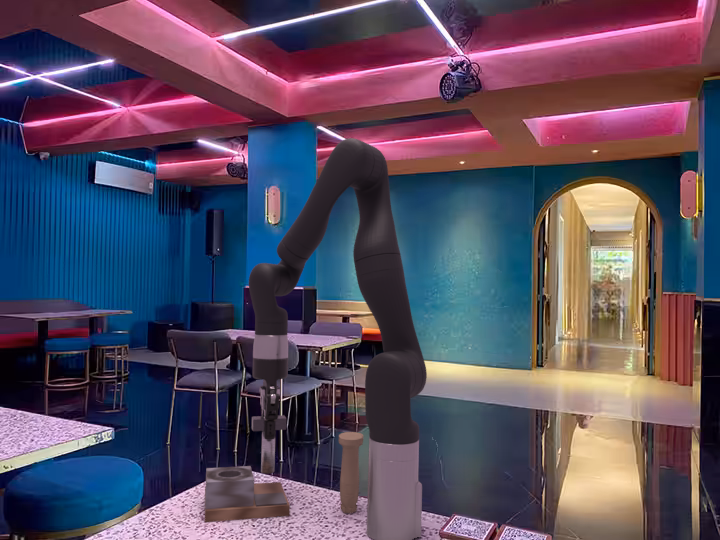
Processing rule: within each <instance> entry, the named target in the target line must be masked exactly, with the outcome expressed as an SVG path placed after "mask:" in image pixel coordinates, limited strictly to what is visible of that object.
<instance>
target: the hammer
mask: <svg viewBox="0 0 720 540" xmlns="http://www.w3.org/2000/svg"><path fill="white" fill-rule="evenodd" d="M264 428H265V421H264V416H262V415H261V416H259V415H258V416H251V430H252V431H253V432H261V461H260V462H261V464H260V473H261V474H266V475H268V474H273V473H274V472H275V460H276V459H275V458H276V457H275V456H276V455H275V454H276V453H275V452H276V437H275V438H274V439H265V438H264ZM285 430H287V417H286V416H285V414H282V415H278V419H277V420H276V421H275V431H285Z"/></svg>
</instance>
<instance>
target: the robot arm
mask: <svg viewBox="0 0 720 540" xmlns="http://www.w3.org/2000/svg"><path fill="white" fill-rule="evenodd" d="M349 187H350V188H352V189H353V190H354V193H355V198H356V202H357V207H358V213H359V222H358V227H357V233H356V236H355V240H354V243H353V251H352V252H353V255H352V256H353V265H354V268H355V269H354V270H355V275H356V281H357V284H358V285H357V286H358V288H359V292H360V293H361V296H362V298H363V300H364V302H365V304H366V306H367V307H368V309H369V311H370V312H371V314H372V316H373V317H374V319H375V321H376V324H377V326H378V329H379V333H380V338H381V341H382V342H381V344H382V350H383V352H381V353H378V354H376V355H375V356H374V357H373V358H372V359H371V360H370V361H369V363H368V365H367V368H366V373H365V382H364V395H365V396H364V403H365V420H366V421H365V422H366V424H367V426H368V430H369V433H368V435H369V438H368V471H367V472H368V473H367V506H366V508H367V509H366V534H367V536H368V537H369V538H370V539H372V540H412V539H413V540H415V539H418V538H417V537H421V538H422V508H423V507H422V505H423V504H422V503H423V500H422V499H423V484H422V483H421V482H420V481H419V459H420V458H419V456H420V455H419V453H420V452H419V450H420V449H419V448H420V426H419V424H418V422H417V421H415V420H413V418H412V413H411V411H412V410H411V409H412V408H411V399H413V398H415V397H417V396H418V395H419V394H421V392H423V390H424V388H425V386H426V383H427V366H426V363H425V359H424V356H423V352H422V349H421V346H420V341H419V339H418V335H417V332H416V328H415V324H414V321H413V316H412V311H411V304H410V299H409V294H408V289H407V284H406V283H407V282H406V277H405V271H404V266H403V261H402V256H401V255H402V254H401V251H400V247H399V243H398V237H397V231H396V225H395V220H394V216H393V212H392V211H393V210H392V205H391V204H392V203H391V193H390V192H391V191H390V181H389V169H388V164H387V160H386V157H385V155H384V154H383V152H382V151H380V150H379V148H377V147H375V146H373V145H371V144H369V143H367V142H365V141H362V140H361V139H358V138H352V137H350V138H345V139H343V140H341V141H340V142H338V143H337V145H335V147H334V148H333V149H332V151H331V153H330V155H329V156H328V158H327V160H326V162H325V164H324V166H323V168H322V170H321V172H320V174H319V176H318V178H317V180H316V182H315V184H314V185H313V188H312V190H311V192H310V194H309V197H308V198H307V201H306V202H305V204H304V205H303V208H302V209H301V211H300V212H299V214H298V216H297V218H296V219H295V221H294V222H293V223H292V225H291V226H290V227H289V229H288V230H287V232H286V233H285V234H284V236H283V237H282V239H281V240H280V242H279V243H278V245H277V247H276V253H277V255H278V257H279V259H280V261H279V263H277V264H276V263H274V264H273V263H267V262H261V263H258V264H256V265H255V266H254V267H253V268H252V270H251V271H250V273H249V277H248V290H249V294H250V299H251V305H252V308H253V311H254V316H255V321H254V322H255V324H254V338H253V339H254V340H253V347H252V348H253V349H252V377H253V379H255V380H263V381H262V385H260V386H259V394H260V400H259V401H260V407H261V408H260V412H261V416H264V421H265V428H264V438H265V439H274V438H275V439H276V430H275V421H276V420H277V419H278V416H279V407H280V397H281V387H279V385H278V380H283V379H287V377H289V376H288V373H289V372H288V371H289V370H288V369H289V340H288V339H289V338H288V337H289V336H288V330H289V329H288V325H289V324H288V321H289V317H288V312H287V310H286V309H285V308H283V307H280V306H279V305H278V302H277V297H283V296H284V297H285V296H287V295H288V294H290V293H291V292H292V291H294V290H295V288H296V286H298V283H299V281H300V278H301V275H302V273H303V272H304V271H303V270H304V268H305V265H306V263H307V262H308V261H309V259H310V258H311V256H312V255H313V254H314V252H315V251H316V250H317V248H318V247H319V246H320V244H321V243H322V241H323V239H324V237H325V234H326V232H327V229H328V225H329V220H330V216H331V213H332V210H333V208H334V206H335V204H336V203H337V201H338V199H339V198H340V197H341V196H342V195H343V193H344V192H346V190H347V189H348V188H349ZM414 538H415V539H414Z"/></svg>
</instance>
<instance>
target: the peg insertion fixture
mask: <svg viewBox="0 0 720 540" xmlns="http://www.w3.org/2000/svg"><path fill="white" fill-rule="evenodd" d="M251 466H252V465H247V466H246V465H245V466H243V465H241V466H228V467H226V466H225V467H206V472H205V486H204V523H212V522H222V521H224V522H225V521H236V520H249V519H250V520H251V519H263V518H278V517H277V516H279V517H289V516H291V515H290V511H291V510H290V509H291V508H290V507H291V505H290V502H289V500H288V497H287V494H286V493H285V490H284V488H283V485H282V482H281V481H278V482H274V481H273V482H262V483H261V482H258V483H255V478H254V473H253V470H252V467H251Z"/></svg>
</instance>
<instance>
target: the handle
mask: <svg viewBox="0 0 720 540" xmlns="http://www.w3.org/2000/svg"><path fill="white" fill-rule="evenodd" d="M363 443H364V434H363V433H360V432H355V431H345V432H341V433H339V434H338V444H339V445H340V446H341V447H342V455H341V466H340V479H339V498H340V499H339V500H340V510H341V511H342V512H343V514H353V513H356V512H357V510H358V502H359V501H358V500H359V493H360V467H359V466H360V465H359V464H360V463H359V462H360V461H359V460H360V458H359V457H360V456H359V453H360V452H359V451H360V450H359V449H360V447H361V446H362V445H363Z"/></svg>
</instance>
